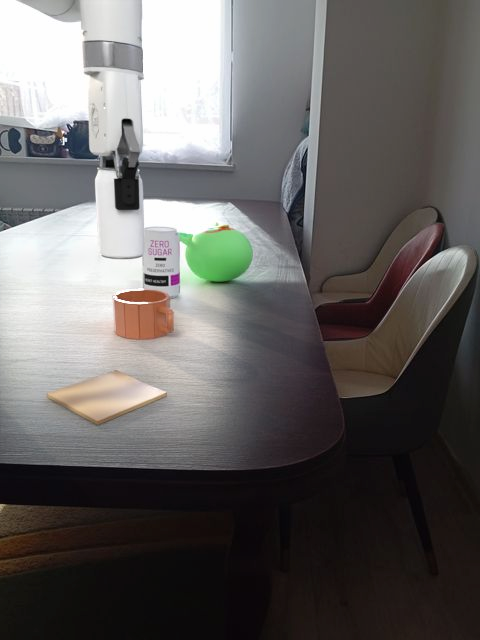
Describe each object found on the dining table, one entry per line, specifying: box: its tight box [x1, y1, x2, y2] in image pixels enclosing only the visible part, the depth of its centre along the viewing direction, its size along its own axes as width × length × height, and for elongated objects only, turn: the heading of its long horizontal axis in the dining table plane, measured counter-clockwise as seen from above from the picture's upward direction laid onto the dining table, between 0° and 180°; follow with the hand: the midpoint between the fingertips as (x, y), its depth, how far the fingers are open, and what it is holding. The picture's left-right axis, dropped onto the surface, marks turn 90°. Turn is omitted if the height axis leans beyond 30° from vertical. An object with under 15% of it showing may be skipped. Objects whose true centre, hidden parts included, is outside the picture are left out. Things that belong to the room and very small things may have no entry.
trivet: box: [46, 369, 168, 426], centre depth 68 cm, size 11×11×1 cm
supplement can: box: [141, 226, 181, 300], centre depth 115 cm, size 8×8×15 cm
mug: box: [111, 288, 175, 340], centre depth 92 cm, size 13×10×6 cm
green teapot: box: [177, 221, 254, 283], centre depth 132 cm, size 18×17×15 cm
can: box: [94, 167, 145, 260], centre depth 73 cm, size 6×6×12 cm
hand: (119, 205), depth 73 cm, fingers closed on can, 6 cm apart
